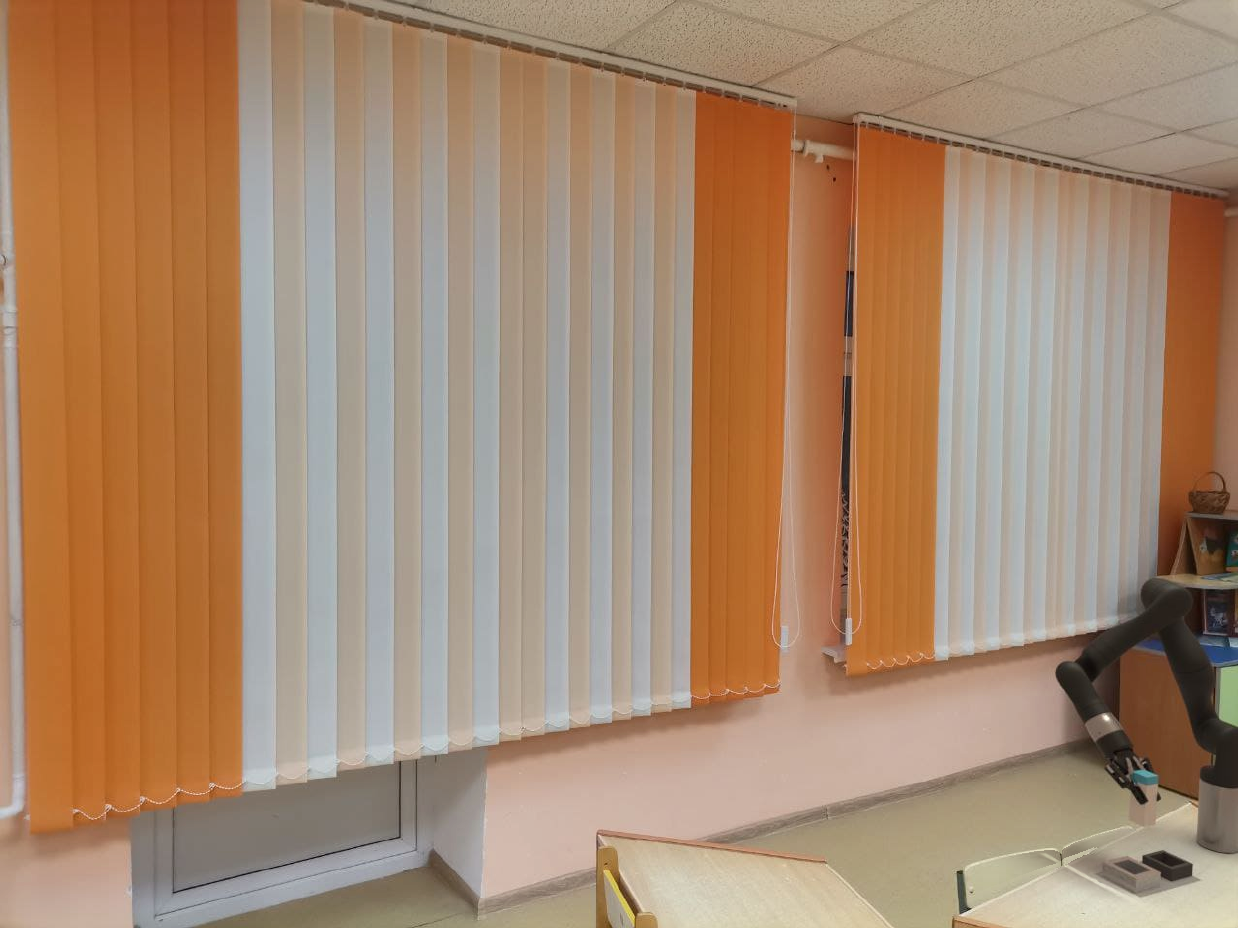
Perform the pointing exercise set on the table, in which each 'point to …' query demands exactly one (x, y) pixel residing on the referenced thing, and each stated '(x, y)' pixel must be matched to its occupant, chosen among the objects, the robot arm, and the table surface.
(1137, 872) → the port
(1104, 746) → the robot arm
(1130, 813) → the plug
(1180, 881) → the panel
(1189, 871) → the dark grey square socket
